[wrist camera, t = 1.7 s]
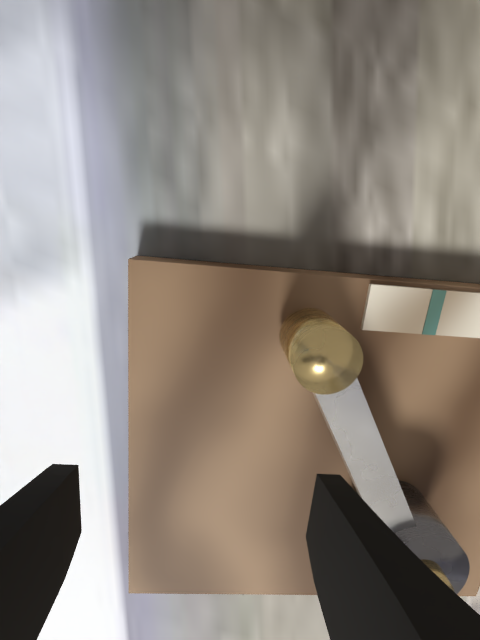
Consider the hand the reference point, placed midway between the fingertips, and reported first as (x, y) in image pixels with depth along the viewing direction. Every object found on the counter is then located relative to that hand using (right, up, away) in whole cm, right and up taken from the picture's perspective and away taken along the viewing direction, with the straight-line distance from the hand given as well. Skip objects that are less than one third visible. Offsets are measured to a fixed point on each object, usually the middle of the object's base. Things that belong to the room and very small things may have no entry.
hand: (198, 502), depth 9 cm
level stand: (+6, -2, +10) cm, 11 cm away
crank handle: (+7, -3, +8) cm, 11 cm away
